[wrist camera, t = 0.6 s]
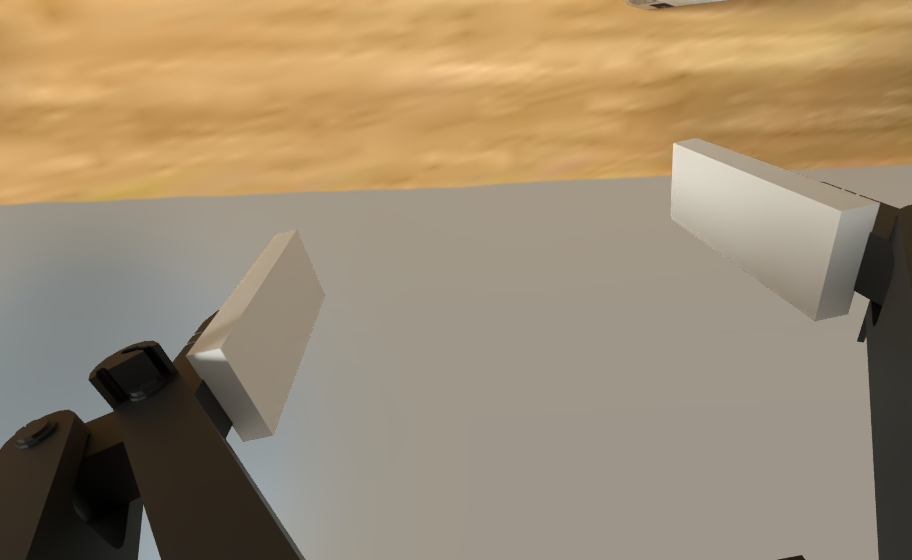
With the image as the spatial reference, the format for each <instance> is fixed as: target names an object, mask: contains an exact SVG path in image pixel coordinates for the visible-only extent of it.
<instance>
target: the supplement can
mask: <svg viewBox="0 0 912 560" xmlns="http://www.w3.org/2000/svg"><path fill="white" fill-rule="evenodd" d="M623 1H624V2H626V3H627V4H628V5H630V6H633V7H636V8H639V9H642V10H649V9H658V8H667V7H675V6H683V5H692V4H700V3H708V2H717V1H725V0H623Z"/></svg>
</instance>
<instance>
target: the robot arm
mask: <svg viewBox="0 0 912 560" xmlns="http://www.w3.org/2000/svg"><path fill="white" fill-rule="evenodd" d="M671 193H672V194H671V219H672V220H674V221H675V222H676V223H678V224H679V225H680V226H682V227H683V228H685V229H686V230H688V231H689V232H690V233H692V234H693V235H695V236H696V237H697V238H699V239H700V240H702V241H703V242H704V243H706V244H707V245H709V246H710V247H711V248H713V249H714V250H716V251H717V252H718V253H720V254H721V255H723V256H724V257H725V258H727V259H728V260H730V261H731V262H732V263H734V264H735V265H737V266H738V267H739V268H741V269H742V270H744V271H745V272H747V273H748V274H749V275H751V276H752V277H754V278H755V279H757V280H758V281H759V282H760V283H762V284H763V285H765V286H766V287H767V288H769V289H770V290H772V291H773V292H774V293H776V294H777V295H779V296H780V297H782V298H783V299H784V300H786V301H787V302H789V303H790V304H791V305H793V306H794V307H795V308H797V309H798V310H800V311H801V312H802V313H804V314H806V315H807V316H808V317H810V318H811V319H812V320H814V321H818V320H823V319H827V318H831V317H837V316H842V315H846V314H848V312H849V309H850V305H851V302H852V298H853V295H854V291H856V292H858V293H859V294H861V295H863V296H865V297H866V298H868V299H870V302H869V305H868V308H867V311H866V314H865V318H864V321H863V324H862V327H861V330H860V334H859V337H858V340H857V341H858V342H864V340H865V339H866V337H867V353H868V371H869V387H870V388H869V389H870V406H871V426H872V442H873V462H874V480H875V498H876V515H877V516H876V517H877V534H878V552H879V560H912V205H908V206H905V207H903V208H901V209H899V208H896V207H893V206H890V205H887V204H884V203H882V202H879V201H876V200H873V199H870V198H867V197H865V196H862V195H856V193H853V192H850V191H848V190H842V189H841V188H839V187H836V186H834V185H830V184H828V183H825V182H820V181H817V180H814V179H811V178H808V177H805V176H803V175H800V174H797V173H794V172H791V171H788V170H786V169H783V168H780V167H777V166H774V165H772V164H769V163H766V162H763V161H760V160H757V159H755V158H752V157H749V156H746V155H743V154H741V153H738V152H735V151H732V150H729V149H726V148H724V147H721V146H718V145H715V144H712V143H710V142H707V141H704V140H701V139H698V138H693V139H688V140H684V141H680V142H675V143H673V166H672V192H671ZM324 297H325V294H324V292H323V289H322V287H321V285H320V282H319V280H318V278H317V275H316V273H315V271H314V268H313V266H312V264H311V261H310V259H309V257H308V254H307V252H306V249H305V247H304V245H303V242H302V240H301V238H300V236H299V233H298V231H297V230H292V231H288V232H284V233H280V234H276V235H275V236H274V237H273V239H272V240H271V241H270V243H269V244H268V246H267V247H266V248H265V250H264V251H263V252H262V254H261V255H260V256H259V258H258V259H257V261H256V262H255V263H254V265H253V266H252V267H251V268H250V270H249V271H248V273H247V274H246V275H245V277H244V278H243V279H242V281H241V282H240V283H239V285H238V286H237V287H236V289H235V290H234V291H233V293H232V294H231V295H230V297H229V298H228V300H227V301H226V302H225V304H224V305H223V306H222V308H221V309H220V310H218V311H217V312H215V313H214V314H213V315H212V316H210V317H209V318H208V319H207V320H205V321H204V322H203V323H202V325H201V326H200V327H199V329H198V330H197V331H196V332H195V336H192V338H191V339H190V340H189V342H188V343H187V344H188V345H186V346H185V347H184V348H183V349H182V351H181V352H180V353H179V355H178V356H177V357H176V358H175V360H174V361H173V362H171V360H170V359H169V358H168V356H167V355H166V353H165V352H164V350H163V349H162V347H161V346H160V345H159V343H157V342H155V341H144V342H140V343H137V344H133V345H131V346H128V347H126V348H124V349H122V350H120V351H118V352H116V353H114V354H113V355H111V356H109V357H107V358H106V359H105V360H104V361H102V362H101V363H100V364H98V365H97V366H96V367H95V369H94V370H93V371H92V372H91V373H90V376H89V381H90V382H91V383H92V385H93V386H94V387H95V388H96V389H97V390H98V392H99V393H100V394H101V395H102V396H103V397H104V399H105V400H106V401H107V402H108V404H109V405H110V406H111V407H112V408H113V410H114V412H111V413H109V414H107V415H104V416H102V417H99V418H97V419H94V420H92V421H89V422H87V423H84V422H83V421H82V420H81V419H80V418H79V417H78V416H77V415H76V414H75V413H74V412H72V411H70V410H63V411H57V412H54V413H52V414H49V415H46V416H44V417H42V418H40V419H38V420H34V421H32V422H30V423H28V424H27V425H26V427H22V428H21V429H20V430H18V431H17V432H16V433H15V435H14V436H13V437H11V438H10V439H9V440H8V441H7V442H6V443H5V444H4V445H3V447H2V448H1V449H0V560H138V552H139V541H140V532H141V521H142V512H143V504H144V507H145V510H146V514H147V517H148V520H149V523H150V526H151V529H152V532H153V536H154V539H155V542H156V545H157V548H158V551H159V554H160V557H161V560H305V558H304V557H303V555H302V554H301V552H300V551H299V549H298V548H297V546H296V544H295V543H294V542H293V540H292V538H291V537H290V535H289V534H288V532H287V531H286V529H285V528H284V526H283V525H282V523H281V522H280V520H279V519H278V517H277V516H276V514H275V513H274V511H273V510H272V508H271V507H270V505H269V504H268V502H267V501H266V499H265V498H264V496H263V494H262V493H261V491H260V490H259V488H258V487H257V485H256V484H255V482H254V481H253V479H252V478H251V477H250V475H249V473H248V472H247V470H246V469H245V467H244V466H243V464H242V463H241V461H240V460H239V458H238V457H237V455H236V454H235V452H234V451H233V449H232V448H231V446H230V445H229V444H228V442H227V441H226V437H227V435H228V433H229V430H230V429H231V426H233V427H234V429H235V430H236V432H237V433H238V435H239V436H240V438H241V439H242V440H243V442H245V441H249V440H254V439H259V438H264V437H268V436H272V435H274V432H275V430H276V427H277V424H278V421H279V419H280V416H281V413H282V411H283V408H284V405H285V403H286V400H287V397H288V394H289V392H290V389H291V386H292V384H293V381H294V378H295V375H296V373H297V370H298V367H299V365H300V362H301V359H302V356H303V354H304V351H305V348H306V346H307V343H308V340H309V338H310V335H311V332H312V330H313V327H314V324H315V321H316V319H317V316H318V313H319V311H320V308H321V305H322V302H323V300H324ZM779 560H805V559H804V557H803V556H802V555H800V556H795V557H789V558H785V559H779Z"/></svg>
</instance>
